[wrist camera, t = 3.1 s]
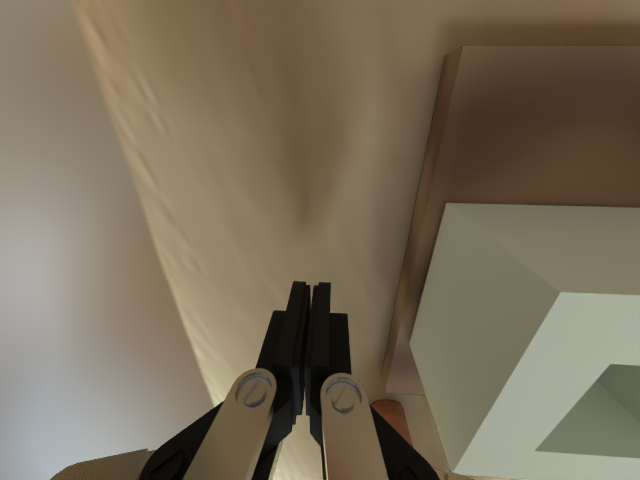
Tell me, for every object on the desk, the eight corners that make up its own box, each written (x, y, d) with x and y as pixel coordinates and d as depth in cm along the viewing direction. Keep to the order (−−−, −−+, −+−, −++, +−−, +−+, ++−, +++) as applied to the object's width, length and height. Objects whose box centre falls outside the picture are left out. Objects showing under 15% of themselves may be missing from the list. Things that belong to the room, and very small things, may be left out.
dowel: (400, 420, 22) (439, 598, 14) (366, 418, 22) (386, 593, 14) (406, 401, 20) (453, 587, 12) (370, 399, 20) (394, 581, 12)
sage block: (562, 351, 14) (699, 492, 9) (409, 343, 15) (451, 474, 9) (664, 208, 10) (1033, 311, 5) (445, 202, 10) (560, 291, 5)
